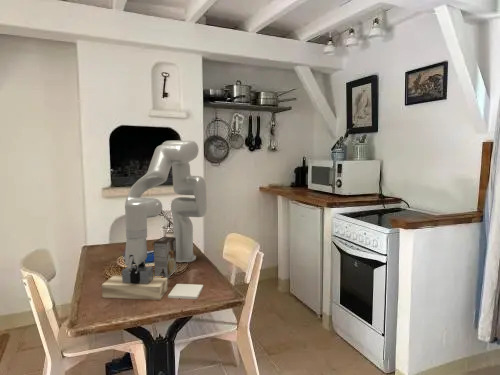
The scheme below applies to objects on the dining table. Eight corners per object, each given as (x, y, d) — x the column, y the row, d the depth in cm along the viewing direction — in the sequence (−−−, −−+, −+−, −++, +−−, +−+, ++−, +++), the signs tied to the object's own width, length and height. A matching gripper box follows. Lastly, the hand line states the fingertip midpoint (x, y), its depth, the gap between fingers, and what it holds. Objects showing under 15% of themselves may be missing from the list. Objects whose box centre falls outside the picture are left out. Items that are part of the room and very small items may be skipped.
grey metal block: (128, 278, 132) (127, 265, 131) (153, 279, 131) (152, 266, 131) (122, 283, 127) (122, 270, 126) (148, 284, 126) (147, 271, 126)
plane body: (114, 287, 135) (113, 275, 135) (167, 289, 133) (167, 277, 133) (102, 297, 126) (102, 284, 126) (159, 300, 124) (159, 287, 124)
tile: (176, 286, 137) (176, 283, 137) (203, 287, 136) (203, 284, 136) (168, 297, 126) (167, 295, 126) (196, 299, 125) (196, 296, 125)
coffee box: (163, 270, 154) (163, 236, 152) (176, 271, 153) (176, 237, 151) (154, 278, 145) (153, 241, 143) (168, 279, 144) (167, 242, 142)
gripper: (136, 228, 136) (137, 271, 138) (116, 239, 119) (118, 288, 121) (154, 228, 135) (155, 272, 137) (136, 240, 118) (138, 289, 120)
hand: (138, 279), depth 129 cm, fingers open, 5 cm apart
